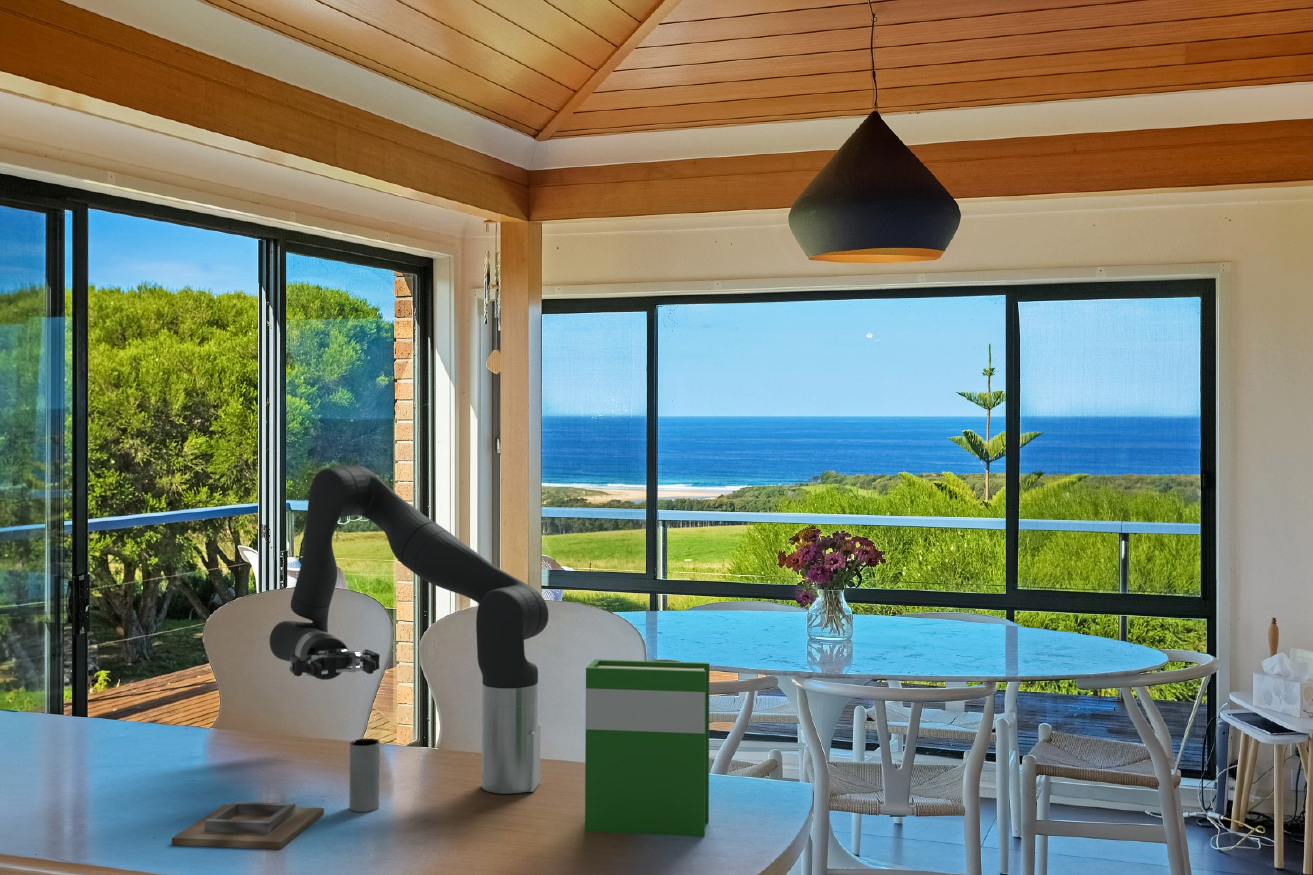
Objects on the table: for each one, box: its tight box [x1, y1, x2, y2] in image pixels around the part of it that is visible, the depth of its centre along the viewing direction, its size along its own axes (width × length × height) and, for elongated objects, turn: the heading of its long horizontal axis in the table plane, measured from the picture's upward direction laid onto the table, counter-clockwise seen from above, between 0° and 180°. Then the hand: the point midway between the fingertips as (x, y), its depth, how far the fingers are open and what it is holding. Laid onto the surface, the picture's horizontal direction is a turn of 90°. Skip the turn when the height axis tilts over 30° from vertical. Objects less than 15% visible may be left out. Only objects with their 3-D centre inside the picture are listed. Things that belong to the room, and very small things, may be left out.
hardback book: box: [584, 659, 710, 838], centre depth 177 cm, size 18×7×24 cm, turn 83°
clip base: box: [171, 801, 325, 850], centre depth 175 cm, size 16×16×2 cm
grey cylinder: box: [348, 738, 381, 813], centre depth 185 cm, size 4×4×10 cm
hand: (345, 669), depth 195 cm, fingers open, 8 cm apart
